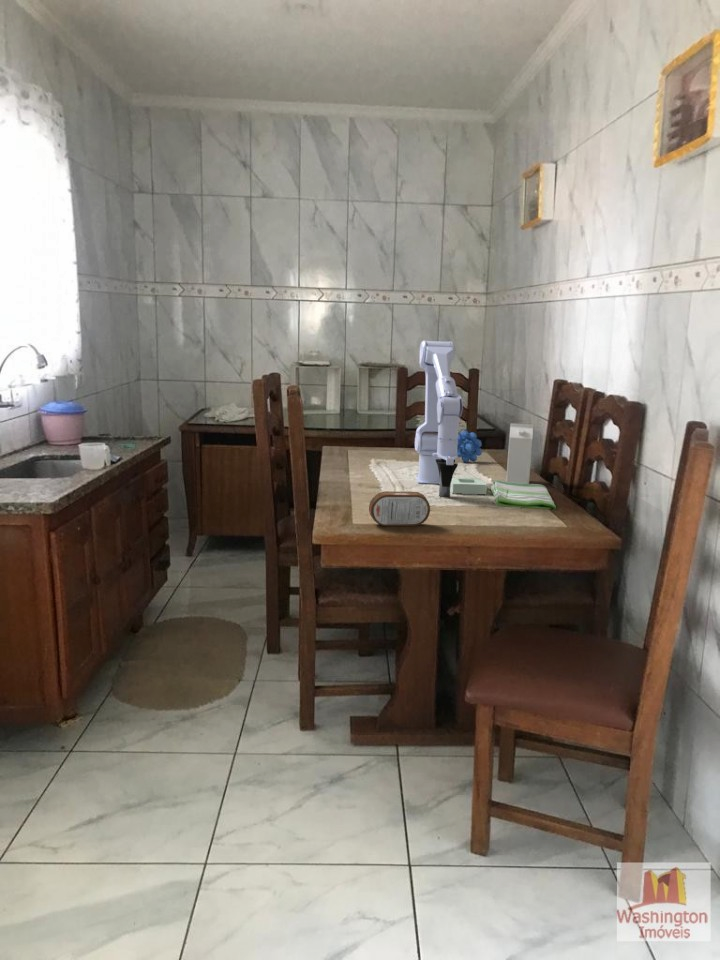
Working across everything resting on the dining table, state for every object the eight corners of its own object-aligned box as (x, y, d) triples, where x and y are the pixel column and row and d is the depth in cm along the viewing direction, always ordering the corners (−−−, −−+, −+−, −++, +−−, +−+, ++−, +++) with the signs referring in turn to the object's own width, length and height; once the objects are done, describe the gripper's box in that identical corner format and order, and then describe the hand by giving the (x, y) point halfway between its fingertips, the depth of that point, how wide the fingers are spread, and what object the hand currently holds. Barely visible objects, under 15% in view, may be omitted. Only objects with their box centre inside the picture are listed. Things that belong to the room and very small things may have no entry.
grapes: (454, 464, 264) (456, 431, 261) (449, 461, 270) (450, 429, 268) (484, 464, 265) (487, 431, 263) (479, 461, 272) (481, 429, 270)
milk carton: (506, 479, 240) (510, 422, 236) (528, 480, 239) (533, 423, 235) (506, 483, 233) (510, 424, 229) (528, 485, 232) (533, 426, 228)
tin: (427, 523, 182) (429, 490, 180) (430, 526, 179) (432, 493, 177) (368, 524, 179) (369, 490, 178) (370, 527, 176) (371, 493, 175)
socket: (447, 486, 225) (448, 477, 225) (480, 487, 226) (480, 478, 225) (452, 493, 216) (453, 483, 215) (486, 494, 216) (486, 484, 215)
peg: (438, 495, 213) (439, 465, 211) (449, 495, 213) (450, 465, 211) (439, 497, 210) (441, 467, 208) (450, 498, 210) (452, 467, 208)
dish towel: (546, 493, 223) (547, 482, 222) (557, 511, 201) (559, 499, 200) (490, 490, 225) (490, 479, 224) (494, 507, 203) (495, 495, 202)
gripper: (430, 434, 215) (428, 479, 218) (437, 442, 201) (434, 490, 204) (454, 435, 215) (451, 480, 218) (462, 442, 201) (459, 490, 204)
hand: (445, 485), depth 211 cm, fingers closed on peg, 3 cm apart
